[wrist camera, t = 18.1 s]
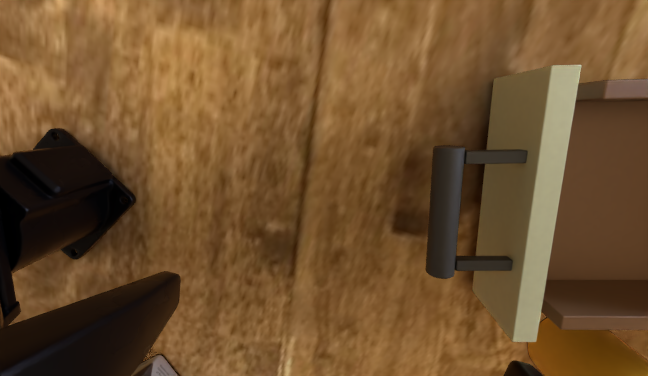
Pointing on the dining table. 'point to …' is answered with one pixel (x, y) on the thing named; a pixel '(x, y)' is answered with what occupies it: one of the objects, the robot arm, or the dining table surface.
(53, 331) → the robot arm
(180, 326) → the dining table surface
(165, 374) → the coffee box
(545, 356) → the pepper mill
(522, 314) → the drawer
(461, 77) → the dining table surface
